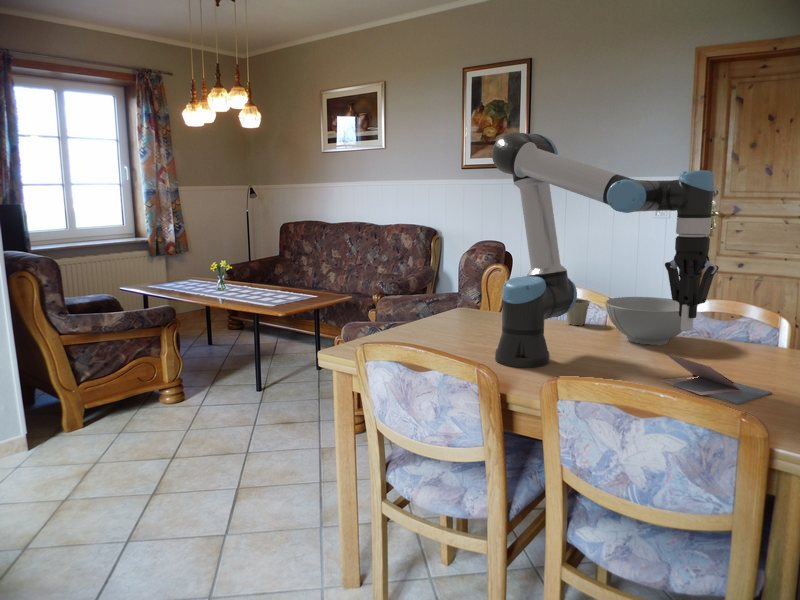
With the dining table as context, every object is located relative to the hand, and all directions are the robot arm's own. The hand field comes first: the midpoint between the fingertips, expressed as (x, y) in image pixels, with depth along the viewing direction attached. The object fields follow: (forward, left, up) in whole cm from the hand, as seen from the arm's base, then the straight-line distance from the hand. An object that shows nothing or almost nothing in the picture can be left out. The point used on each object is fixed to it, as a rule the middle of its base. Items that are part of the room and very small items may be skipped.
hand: (686, 330), depth 148 cm
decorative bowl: (+28, +31, -13) cm, 44 cm away
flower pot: (+28, +61, -13) cm, 68 cm away
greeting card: (0, +3, -12) cm, 12 cm away
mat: (0, -10, -13) cm, 16 cm away
